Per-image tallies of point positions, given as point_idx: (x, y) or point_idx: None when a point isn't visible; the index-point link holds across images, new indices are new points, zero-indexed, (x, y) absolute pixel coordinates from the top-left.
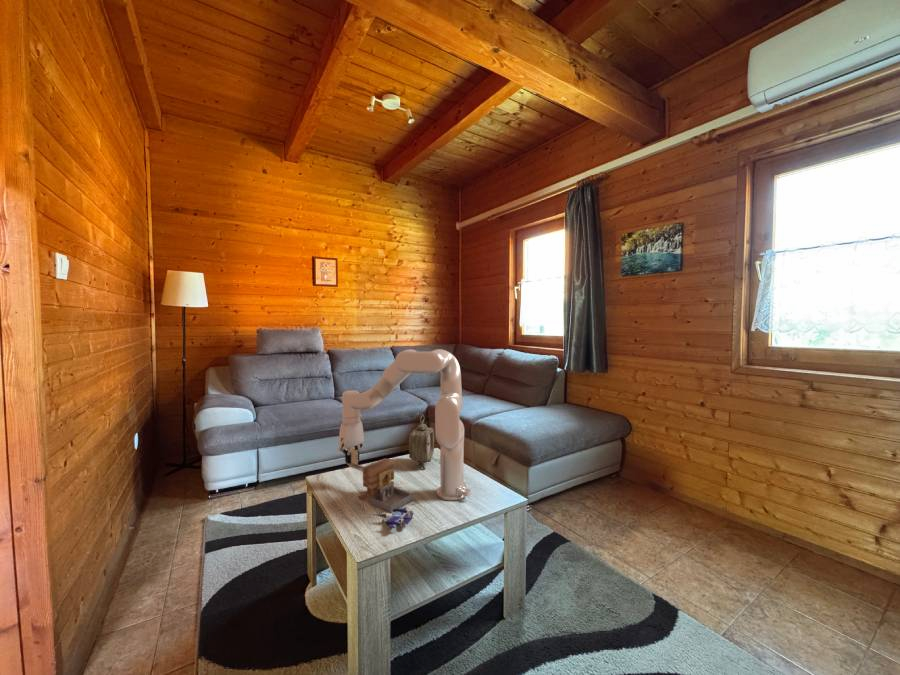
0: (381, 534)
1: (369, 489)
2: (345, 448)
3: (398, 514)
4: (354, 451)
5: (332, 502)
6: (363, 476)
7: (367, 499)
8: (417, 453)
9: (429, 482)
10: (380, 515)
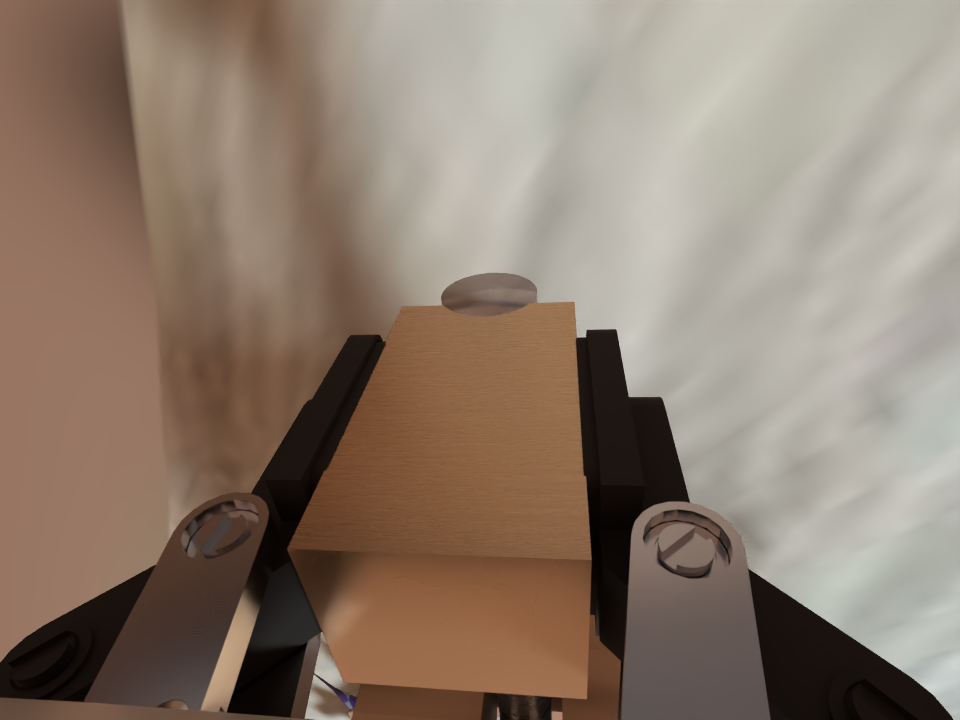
0: (317, 701)
1: None
2: (145, 702)
3: None
4: (459, 680)
5: (207, 352)
6: (358, 703)
7: None
8: None
9: (951, 637)
10: (349, 706)
